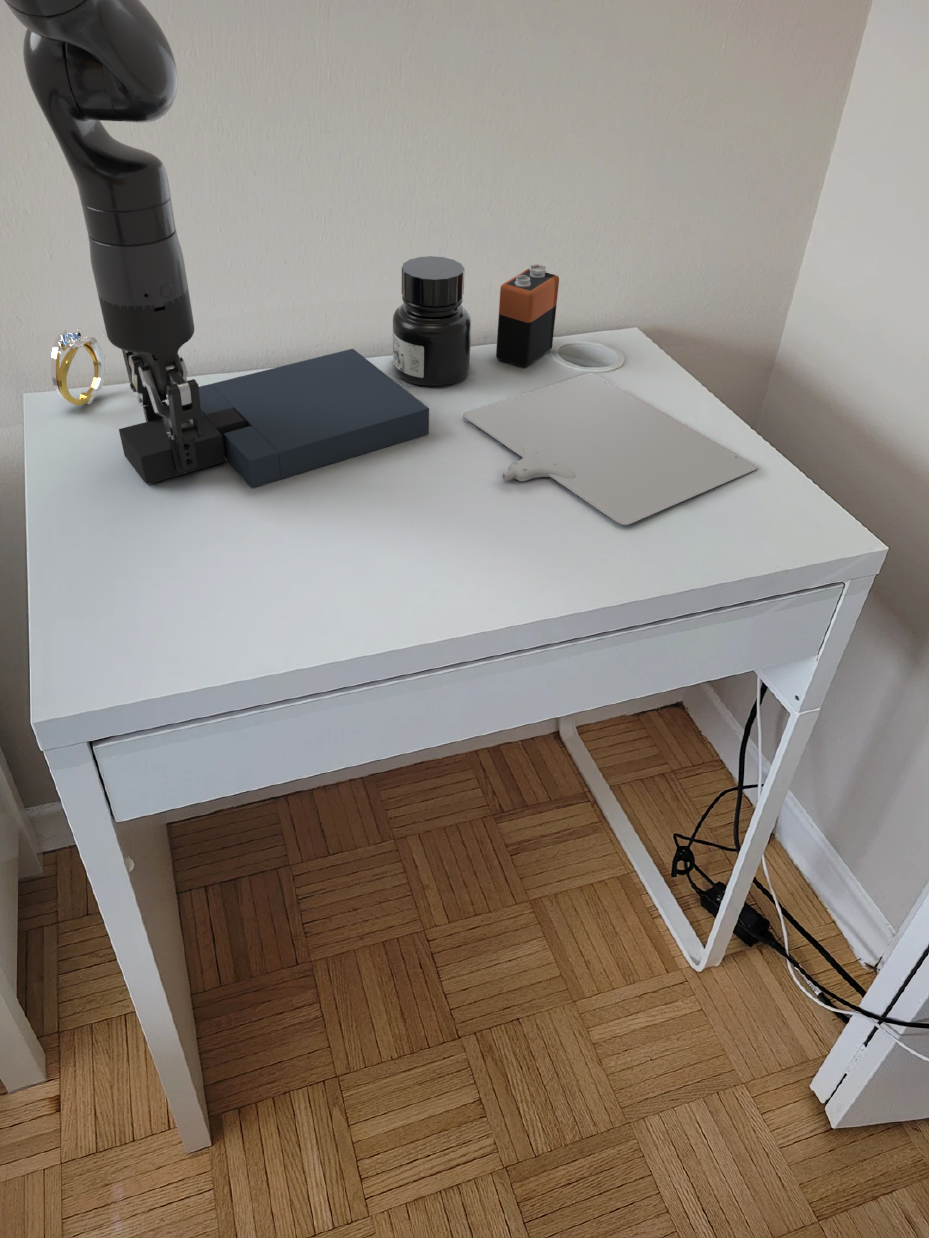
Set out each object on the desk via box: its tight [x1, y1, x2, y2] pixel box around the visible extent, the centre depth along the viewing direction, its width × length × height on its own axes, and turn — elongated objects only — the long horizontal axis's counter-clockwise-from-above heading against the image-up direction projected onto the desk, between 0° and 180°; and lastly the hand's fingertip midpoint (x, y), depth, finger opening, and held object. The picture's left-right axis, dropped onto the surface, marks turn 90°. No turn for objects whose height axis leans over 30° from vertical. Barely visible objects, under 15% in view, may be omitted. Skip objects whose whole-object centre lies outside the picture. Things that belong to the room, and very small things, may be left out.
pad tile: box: [118, 408, 245, 485], centre depth 93 cm, size 11×6×3 cm, turn 124°
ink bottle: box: [392, 255, 472, 387], centre depth 106 cm, size 10×9×12 cm
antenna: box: [462, 372, 758, 526], centre depth 98 cm, size 25×24×1 cm
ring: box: [50, 327, 106, 406], centre depth 99 cm, size 7×3×8 cm, turn 156°
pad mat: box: [199, 348, 430, 489], centre depth 99 cm, size 20×16×3 cm
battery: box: [495, 263, 560, 368], centre depth 111 cm, size 4×7×10 cm, turn 147°
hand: (174, 453), depth 93 cm, fingers closed on pad tile, 6 cm apart
